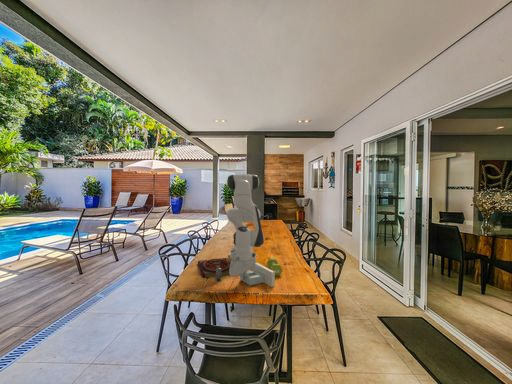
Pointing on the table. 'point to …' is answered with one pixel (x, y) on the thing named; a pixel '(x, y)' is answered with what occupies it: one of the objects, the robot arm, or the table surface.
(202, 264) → the book
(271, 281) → the wall
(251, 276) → the sliding block
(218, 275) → the dowel
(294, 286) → the table surface
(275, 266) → the dumbbell
